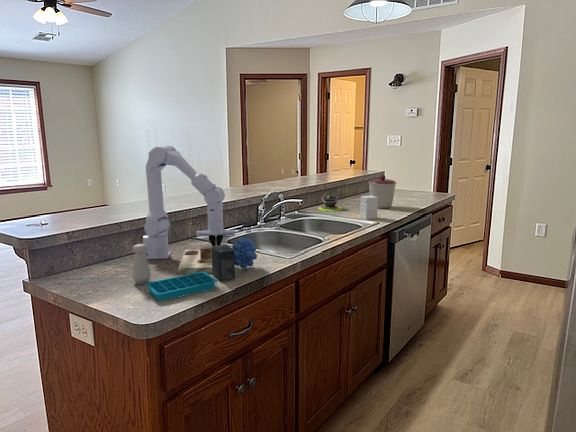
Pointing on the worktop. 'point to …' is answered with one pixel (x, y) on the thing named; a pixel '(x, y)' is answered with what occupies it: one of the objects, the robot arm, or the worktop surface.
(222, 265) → the box
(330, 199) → the toy cauldron
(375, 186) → the canister
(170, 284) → the ice cube tray
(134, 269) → the salt shaker
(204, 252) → the walnut block
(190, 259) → the board
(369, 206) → the supplement box
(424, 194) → the worktop surface
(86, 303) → the worktop surface
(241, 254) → the grapes
